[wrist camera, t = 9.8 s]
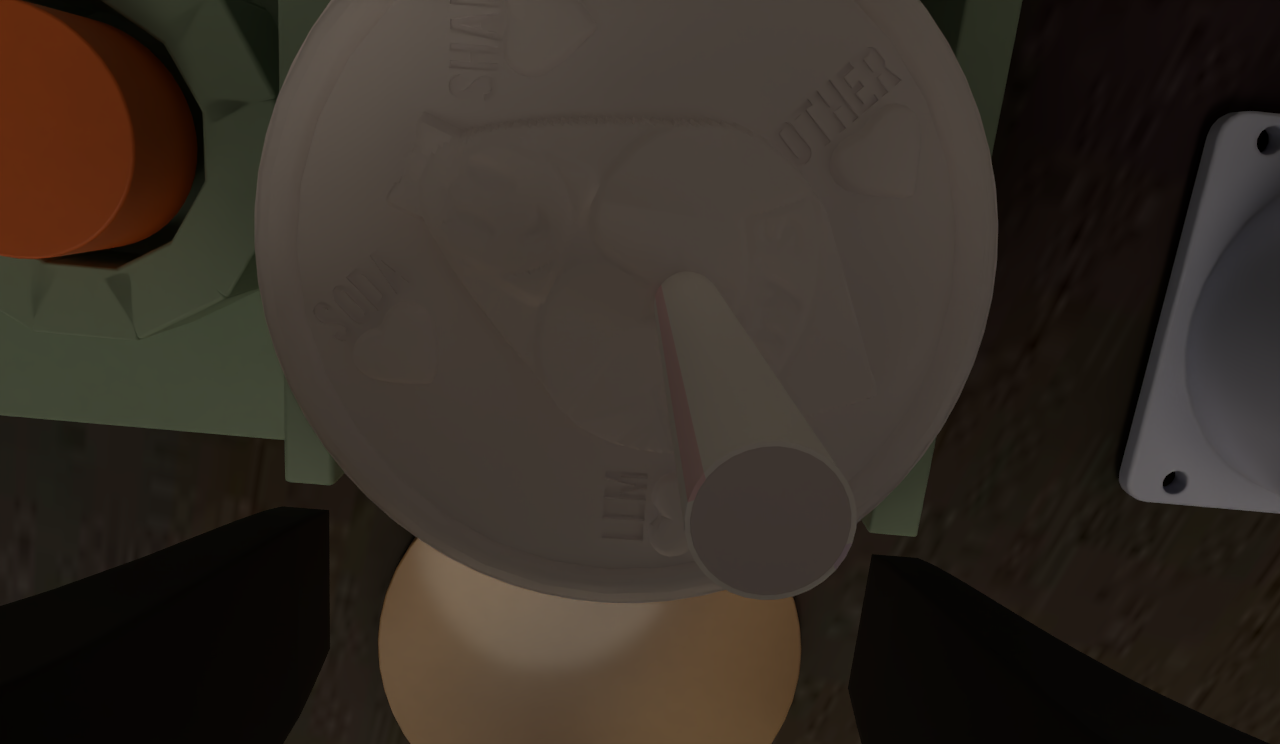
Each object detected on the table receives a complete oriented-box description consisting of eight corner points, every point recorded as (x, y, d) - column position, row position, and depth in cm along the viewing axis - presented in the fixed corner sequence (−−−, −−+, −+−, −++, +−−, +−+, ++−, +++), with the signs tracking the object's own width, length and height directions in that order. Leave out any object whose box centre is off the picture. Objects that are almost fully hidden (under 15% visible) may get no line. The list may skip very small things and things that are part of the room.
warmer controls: (349, -158, 14) (271, -246, 11) (346, 422, 17) (283, 479, 14) (-178, -215, 14) (-407, -323, 11) (-97, 383, 17) (-262, 432, 14)
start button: (194, 29, 13) (125, 7, 11) (203, 258, 13) (141, 270, 12) (-41, 4, 12) (-146, -21, 11) (-16, 237, 13) (-110, 247, 12)
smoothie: (698, 415, 17) (945, 1359, 4) (421, 283, 16) (-600, 836, 3) (849, 136, 16) (2193, -60, 2) (553, -23, 15) (-212, -1829, 1)
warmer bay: (929, -51, 15) (1176, -233, 8) (846, 444, 17) (982, 623, 11) (379, -111, 15) (159, -351, 8) (372, 402, 17) (200, 559, 10)
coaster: (827, 473, 18) (831, 480, 17) (768, 834, 20) (771, 847, 19) (386, 434, 17) (380, 441, 17) (379, 805, 20) (374, 818, 19)
